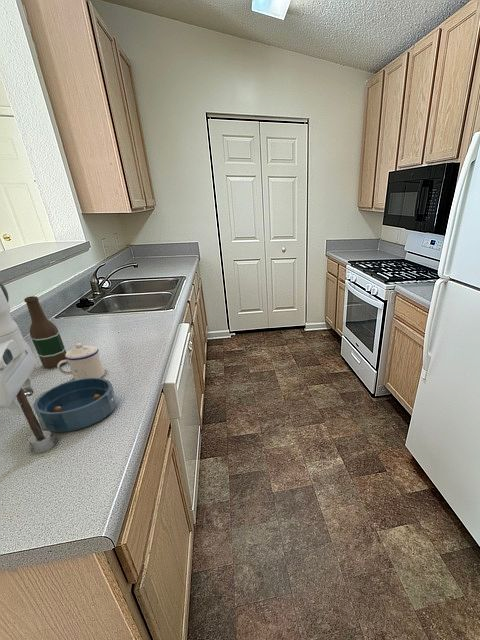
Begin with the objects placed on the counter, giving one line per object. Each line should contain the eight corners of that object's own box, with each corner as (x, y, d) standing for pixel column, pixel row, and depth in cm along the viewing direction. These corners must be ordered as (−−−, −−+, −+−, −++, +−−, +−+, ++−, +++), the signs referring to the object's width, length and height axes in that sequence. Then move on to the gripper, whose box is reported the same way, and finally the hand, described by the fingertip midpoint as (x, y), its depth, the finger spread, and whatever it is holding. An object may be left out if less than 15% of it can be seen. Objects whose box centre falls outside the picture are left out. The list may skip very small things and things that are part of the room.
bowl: (34, 441, 80) (24, 421, 77) (51, 403, 94) (43, 385, 92) (114, 422, 86) (108, 403, 83) (119, 389, 100) (113, 372, 98)
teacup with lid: (105, 367, 114) (95, 336, 109) (106, 378, 107) (95, 345, 101) (64, 376, 109) (51, 344, 103) (62, 389, 102) (48, 354, 96)
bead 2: (94, 402, 93) (92, 396, 92) (95, 399, 95) (93, 393, 94) (102, 401, 94) (100, 395, 93) (102, 397, 96) (101, 391, 95)
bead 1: (54, 415, 88) (51, 409, 87) (55, 411, 90) (53, 405, 89) (62, 413, 89) (60, 407, 88) (64, 410, 90) (61, 403, 90)
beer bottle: (67, 356, 122) (43, 292, 111) (71, 363, 117) (47, 297, 106) (41, 363, 117) (14, 297, 107) (45, 371, 112) (16, 302, 102)
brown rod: (30, 454, 76) (-4, 386, 67) (35, 443, 79) (3, 376, 71) (53, 449, 77) (22, 382, 69) (57, 438, 81) (28, 372, 73)
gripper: (-4, 331, 74) (21, 384, 80) (-48, 371, 57) (-12, 434, 63) (30, 326, 76) (52, 378, 82) (-3, 364, 59) (27, 426, 66)
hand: (24, 403), depth 73 cm, fingers open, 6 cm apart
